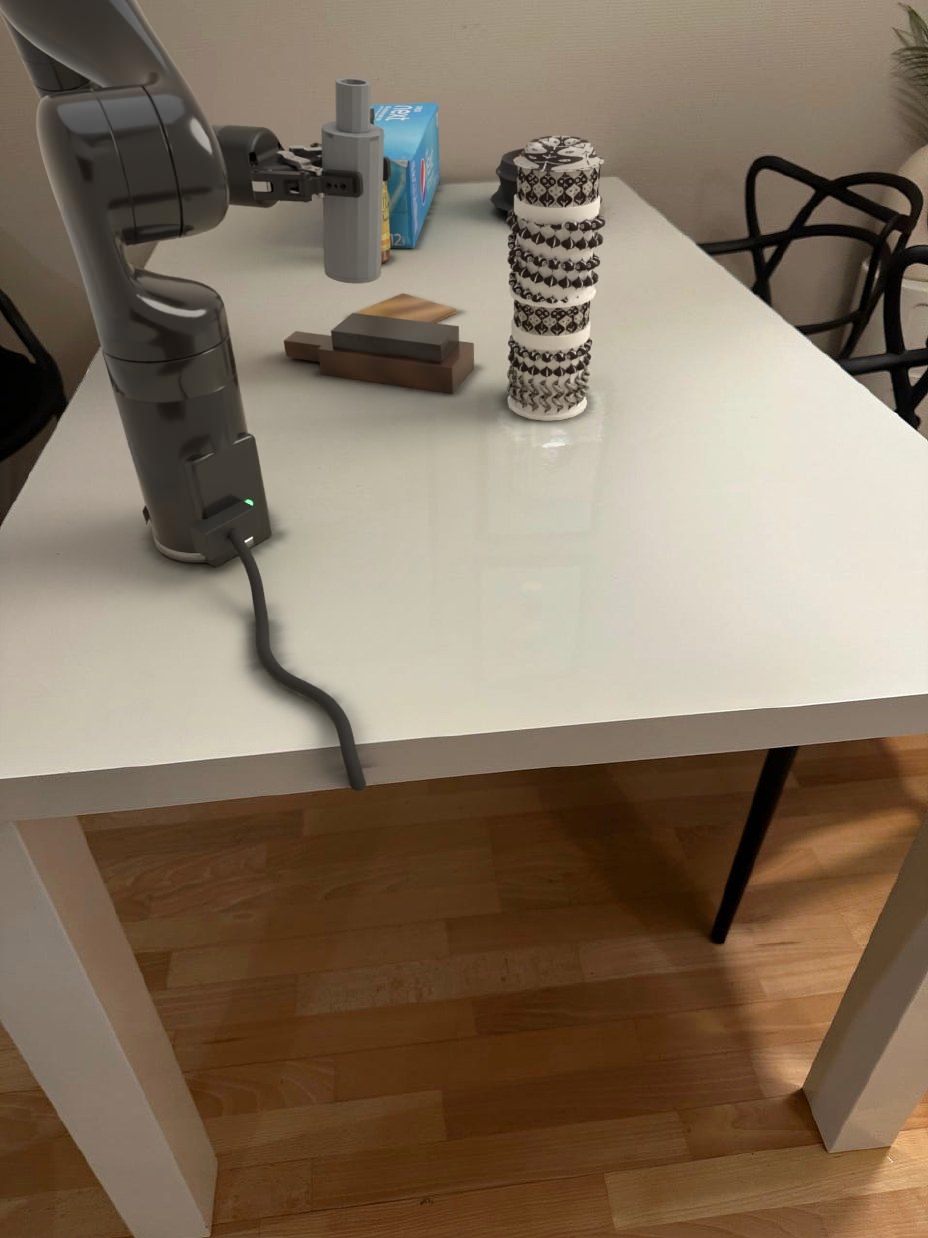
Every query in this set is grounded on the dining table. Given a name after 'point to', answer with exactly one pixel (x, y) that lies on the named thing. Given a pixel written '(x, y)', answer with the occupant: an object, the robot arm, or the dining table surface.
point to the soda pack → (409, 166)
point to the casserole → (508, 181)
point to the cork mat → (410, 309)
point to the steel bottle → (360, 219)
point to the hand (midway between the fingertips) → (375, 176)
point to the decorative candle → (553, 276)
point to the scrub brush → (388, 352)
